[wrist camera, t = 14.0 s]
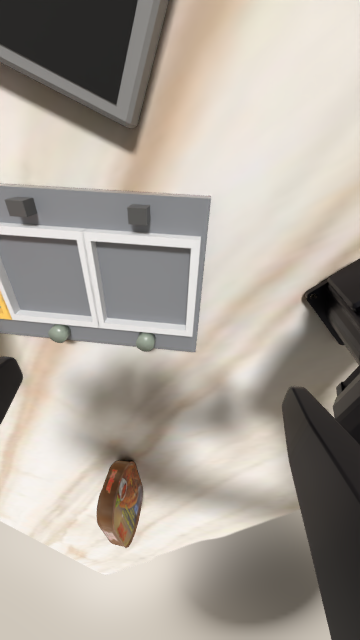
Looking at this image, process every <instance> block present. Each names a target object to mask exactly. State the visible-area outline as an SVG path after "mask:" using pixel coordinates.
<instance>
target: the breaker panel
mask: <svg viewBox="0 0 360 640" xmlns="http://www.w3.org/2000/svg"><path fill="white" fill-rule="evenodd" d="M210 201H211V196H200V195H183V194H167V193H150V192H133V191H117V190H100V189H84V188H67V187H50V186H34V185H17V184H1V183H0V333H6V334H16V335H26V336H36V337H46V338H51V339H52V340H53V341H55V342H57V343H63V342H65V340H66V339H67V340H77V341H87V342H97V343H108V344H118V345H128V346H137V347H138V348H139V349H140V350H142V351H150V350H152V349H153V348H158V349H169V350H179V351H189V352H195V351H196V341H197V331H198V321H199V311H200V301H201V291H202V281H203V271H204V261H205V251H206V241H207V231H208V221H209V211H210Z"/></svg>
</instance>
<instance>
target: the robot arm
mask: <svg viewBox="0 0 360 640" xmlns="http://www.w3.org/2000/svg"><path fill="white" fill-rule="evenodd" d="M312 294H315V296H313V297H310V296H311V295H312ZM305 297H306V299H307V301H308V302H309V303H310V305H311V306H312V308H313V309H314V310H315V312H316V313H317V314H318V316H319V317H320V319H321V320H322V321H323V323H324V324H325V325H326V327H327V328H328V329H329V331H330V332H331V334H332V335H333V336H334V338H335V339H336V340H337V342H338V343H339V344H340V345H346V347H347V348H348V350H349V351H350V353H351V354H352V356H353V357H354V359H355V360H356V362H357V363H358V364H359V366H358V367H357V369H356V370H355V371H354V372H353V373H352V374H351V375H350V376H349V377H348V378H347V379H346V380H345V381H344V382H341V383H340V384H339V385H338V386H337V388H336V389H337V397H336V400H335V402H334V405H333V410H334V417H335V418H334V417H333V416H332V415H331V414H330V413H329V412H328V411H327V410H326V409H325V408H324V407H323V406H322V405H321V404H320V403H319V402H318V401H317V400H316V399H315V398H314V397H313V396H312V395H311V394H310V393H309V392H308V391H307V390H306V389H305V388H303V387H296V386H291V387H290V388H289V389H288V391H287V394H286V396H285V398H284V401H283V404H282V412H283V420H284V428H285V436H286V444H287V451H288V458H289V463H290V467H291V472H292V476H293V480H294V484H295V488H296V493H297V497H298V501H299V505H300V509H301V513H302V517H303V522H304V526H305V530H306V534H307V538H308V542H309V546H310V551H311V555H312V559H313V564H314V568H315V572H316V576H317V580H318V584H319V589H320V593H321V597H322V601H323V606H324V610H325V614H326V618H327V622H328V626H329V630H330V635H331V639H332V640H360V259H358V260H357V261H355V262H353V263H352V264H350V265H348V266H347V267H345V268H343V269H342V270H340V271H338V272H337V273H335V274H333V275H331V276H330V277H329V278H328V279H326V280H325V281H323V282H321V283H320V284H318V285H316V286H314V287H313V288H311V289H309V290H308V291H307V292H306V293H305ZM22 379H23V374H22V372H21V370H20V367H19V365H18V363H17V361H16V359H14V358H12V357H0V424H1V422H2V420H3V419H4V417H5V415H6V413H7V411H8V409H9V407H10V405H11V403H12V401H13V399H14V397H15V394H16V392H17V390H18V388H19V386H20V384H21V382H22Z"/></svg>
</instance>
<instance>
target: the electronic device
mask: <svg viewBox="0 0 360 640" xmlns="http://www.w3.org/2000/svg"><path fill="white" fill-rule="evenodd" d="M168 2H169V0H0V62H1V63H3V64H5V65H7V66H9V67H11V68H12V69H14V70H16V71H18V72H20V73H22V74H24V75H26V76H28V77H30V78H32V79H34V80H36V81H38V82H40V83H42V84H44V85H45V86H47V87H49V88H51V89H53V90H55V91H57V92H59V93H61V94H63V95H65V96H67V97H69V98H71V99H73V100H75V101H77V102H78V103H80V104H82V105H84V106H86V107H88V108H90V109H92V110H94V111H96V112H98V113H100V114H102V115H104V116H106V117H108V118H110V119H111V120H113V121H115V122H117V123H119V124H121V125H123V126H125V127H128V128H132V129H133V128H134V127H136V126H137V125H138V121H139V117H140V113H141V109H142V105H143V101H144V97H145V93H146V89H147V85H148V82H149V78H150V74H151V70H152V66H153V62H154V58H155V54H156V50H157V46H158V42H159V38H160V34H161V30H162V26H163V22H164V18H165V14H166V10H167V6H168Z"/></svg>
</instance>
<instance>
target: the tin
mask: <svg viewBox="0 0 360 640" xmlns="http://www.w3.org/2000/svg"><path fill="white" fill-rule="evenodd" d="M142 497H143V487H142V483H141V480H140V477H139V474H138V471H137V468H136V465H135V463H134V462H133V461H131V462H128V461H121V460H118V461H115V462H114V463H113V464H112V465H111V467H110V469H109V472H108V475H107V477H106V480H105V482H104V485H103V488H102V491H101V493H100V496H99V500H98V505H97V523H98V525H99V527H100V528H101V530H102V531H103V532H104V534H105V535H106V537H107V538H108V539H109V541H110V542H111V543H112V544H115V545H119V546H124V547H125V548H127V547H129V545H130V544H131V542H132V540H133V537H134V535H135V532H136V528H137V525H138V521H139V516H140V511H141V504H142Z"/></svg>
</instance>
